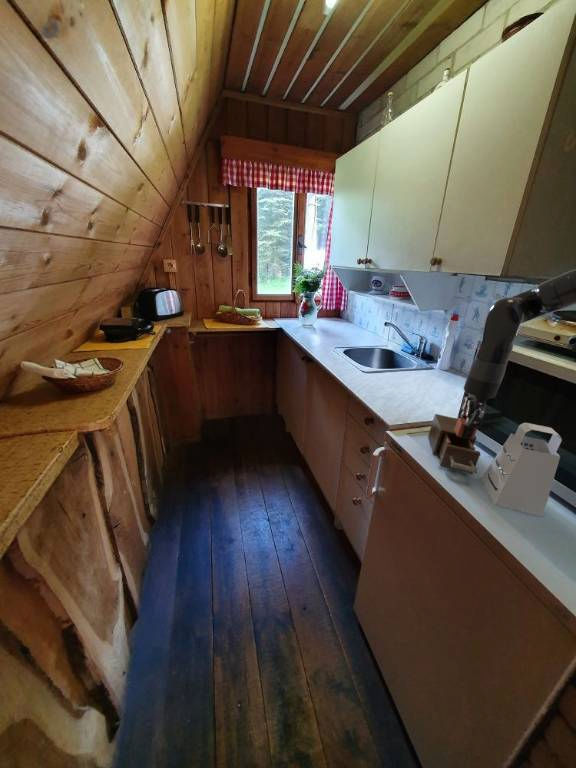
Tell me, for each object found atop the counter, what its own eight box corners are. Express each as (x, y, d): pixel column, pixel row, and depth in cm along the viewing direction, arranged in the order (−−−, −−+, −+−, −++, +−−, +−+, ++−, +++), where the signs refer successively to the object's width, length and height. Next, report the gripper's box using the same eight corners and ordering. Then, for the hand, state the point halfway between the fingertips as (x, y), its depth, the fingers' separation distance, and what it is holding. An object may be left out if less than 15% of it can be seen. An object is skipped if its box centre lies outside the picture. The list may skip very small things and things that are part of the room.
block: (469, 432, 87) (473, 420, 85) (472, 439, 83) (477, 427, 82) (454, 429, 88) (458, 417, 86) (457, 436, 84) (461, 423, 83)
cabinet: (467, 462, 91) (476, 437, 88) (433, 454, 93) (441, 430, 90) (458, 443, 102) (466, 420, 99) (428, 436, 104) (435, 413, 101)
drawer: (477, 485, 80) (486, 463, 77) (443, 476, 82) (450, 455, 79) (463, 454, 94) (470, 435, 91) (434, 447, 96) (440, 428, 93)
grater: (481, 478, 84) (508, 414, 77) (523, 488, 82) (555, 423, 75) (494, 504, 75) (526, 434, 68) (542, 516, 73) (581, 445, 65)
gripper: (511, 389, 72) (486, 450, 78) (491, 371, 85) (471, 425, 91) (476, 382, 74) (454, 443, 80) (462, 366, 86) (444, 420, 93)
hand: (463, 433), depth 85 cm, fingers closed on block, 4 cm apart
